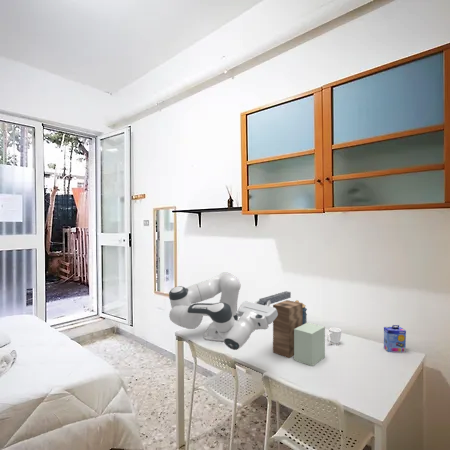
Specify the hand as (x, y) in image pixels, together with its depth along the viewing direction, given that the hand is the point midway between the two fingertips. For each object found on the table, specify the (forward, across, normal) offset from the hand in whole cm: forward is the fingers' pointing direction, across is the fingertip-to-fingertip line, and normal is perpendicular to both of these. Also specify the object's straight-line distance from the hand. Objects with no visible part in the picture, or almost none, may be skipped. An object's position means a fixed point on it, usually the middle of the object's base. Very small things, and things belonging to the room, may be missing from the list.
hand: (265, 300), depth 150 cm
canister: (+36, -18, -58) cm, 71 cm away
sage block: (+2, +13, -38) cm, 40 cm away
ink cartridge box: (+38, +42, -59) cm, 82 cm away
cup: (+26, +14, -52) cm, 59 cm away
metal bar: (+7, 0, -6) cm, 9 cm away
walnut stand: (+2, 0, -38) cm, 38 cm away
